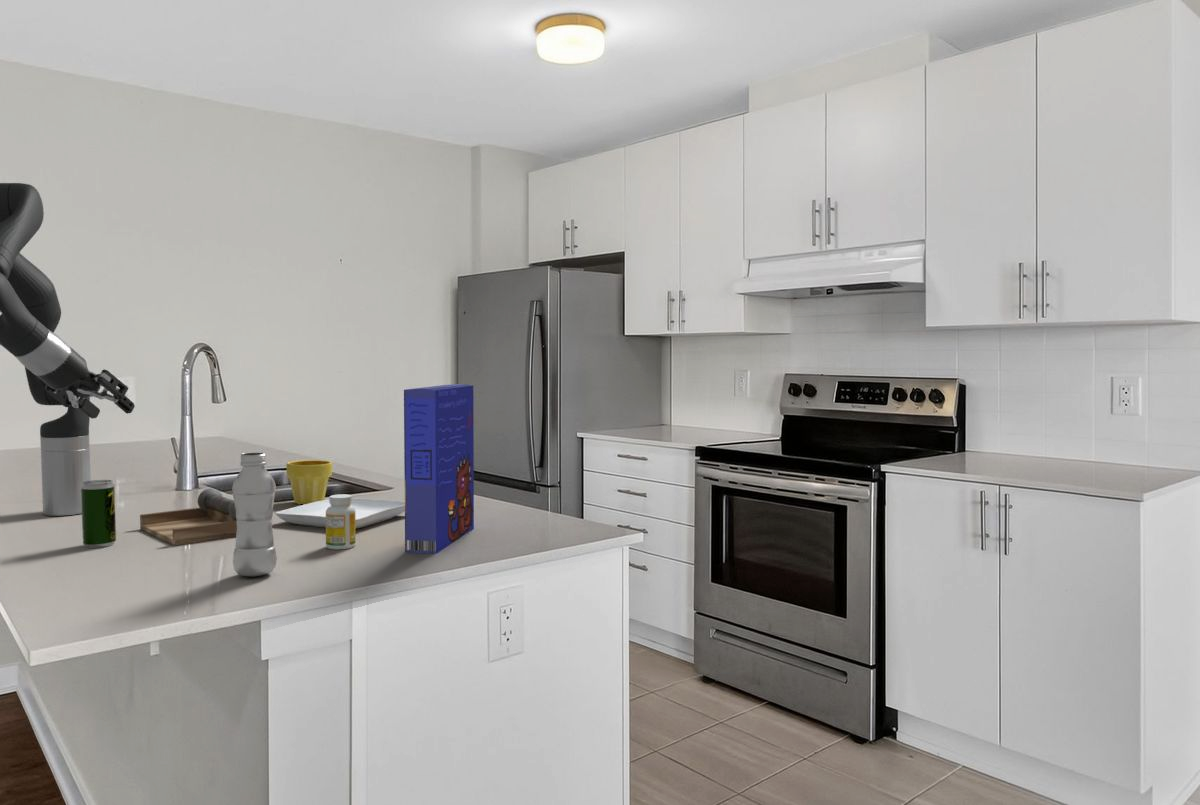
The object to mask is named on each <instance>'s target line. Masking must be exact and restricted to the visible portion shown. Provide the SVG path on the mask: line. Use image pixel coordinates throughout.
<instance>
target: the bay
mask: <svg viewBox="0 0 1200 805" xmlns="http://www.w3.org/2000/svg"><path fill="white" fill-rule="evenodd" d="M197 505H198V507H192V508H185V509H176V510H168V511H166V510H165V511H159V512H151V513H144V514H143V513H142V514H139V524H140V525H139V527H140V528H139V529H140V530H141V531H143V532H145V533H148V534H150V535H152V536H154V537H156V538H158V539H160V540H162V541H165V542H166V543H168V544H171V545H173V546H181V545H188V544H195V543H202V542H207V541H208V542H209V541H217V540H221V539H222V540H223V539H227V538H228V539H229V538H236V532H237V523H236V522H237V519H236V509H235V503H234V499H231V498H228V497H224V496H223V494H222V493H221V491H219V490H218V489H215V488H211V487H210V488H207V489H203V491H201V492H200V493H199V495H198V496H197Z"/></svg>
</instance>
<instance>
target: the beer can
mask: <svg viewBox="0 0 1200 805" xmlns="http://www.w3.org/2000/svg"><path fill="white" fill-rule="evenodd" d="M113 482H114V481H113V479H92V480H91V481H86V482H83V483H82V484H83V486H82V488H81V502H82V513H81V522H82V523H81V529H82V544H83V546H84V547H85V548H87V549H100V548H101V549H102V548H107V547H112V546H114V545H115V543H116V541H117V527H116V526H117V525H116V523H117V522H116V498H115V497H116V496H115V494H116V491H115V490H116V488H115V484H114V483H113ZM113 544H114V545H113ZM111 545H112V546H111Z"/></svg>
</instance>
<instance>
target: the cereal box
mask: <svg viewBox="0 0 1200 805" xmlns="http://www.w3.org/2000/svg"><path fill="white" fill-rule="evenodd" d="M474 422H475V421H474V385H471V384H466V383H458V384H457V383H454V384H442V385H434V386H433V385H432V386H426V387H423V386H422V387H416V388H415V387H414V388H408V389H403V429H404V431H403V441H404V442H403V449H404V450H403V451H404V452H403V453H404V456H403V457H404V462H403V463H404V501H405V512H404V552H405V553H415V554H416V553H419V554H433V555H434V554H439V552H441V551H442V550H444V549H445V548H447V547H449V546H450V545H452V544H453V543H455V542H456V541H458V540H459V539H460V538H463V537H464V536H465V535H467V534H468V533H470V532H472V531H473V530H474V529H475V524H474V523H475V522H474V521H475V513H474V510H475V508H474V507H475V506H474V505H475V503H474V502H475V500H474V499H475V498H474V494H475V493H474V492H475V488H474V484H475V483H474V482H475V481H474V480H475V479H474V477H475V475H474V474H475V472H474V471H475V470H474V469H475V466H474V461H475V460H474V456H475V455H474V453H475V452H474V441H475V440H474V436H475V435H474Z"/></svg>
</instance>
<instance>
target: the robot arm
mask: <svg viewBox="0 0 1200 805" xmlns="http://www.w3.org/2000/svg"><path fill="white" fill-rule="evenodd" d="M44 215H45V213H44V203H43V200H42V197H41V194H40V193H39V191H38V189H37V188H36V187H35V186H33V185H32V184H28V183H23V182H19V183H18V182H0V313H1V314H0V346H2V348H4V349H5V350H6V351H8V352H9V353H10V354H11V355H13V356H14V357H15V358H16V359H17V360H18V361H19V363H21V364H22V365H23V366H24V371H25V375H26V378H27V379H26V380H27V384H28V389H29V392H30V394H31V397H32V398H33V400H34V402H36V404H38V405H40V406H63V407H65V408H67V411H66V412H65V413H64V414H63V415H61V416H60V417H58V418H56V419H53V420H50V421H46V422H43V423H42V424H40V427H39V432H40V434H39V435H40V436H39V437H40V438H39V441H40V460H41V461H40V462H41V463H40V464H41V487H42V488H41V490H42V514H43V515H44V516H52V517H53V516H59V517H60V516H71V515H72V516H73V515H78V514H79V515H81V514H82V502H81V488H82V486H83V484H82V483H83V482H86V481H92V480H91V477H92V476H91V453H90V452H91V451H90V450H91V449H90V419H97V418H98V416H99V415H100V412H101V410H100V408H99V407H98V406H97V405H95V404H94V403H93V402H91V401H90V399H91V398H92V397H93V398H97V399H99V400H108V401H110V402H113V403H114V404H115V405H116V407H118V408H120V410H122V411H123V412H124V413H125V414H131V413H132V412H133V410H134V409H135V403H134V402H133V401H132V400H131V399H129V398H128V396H126V394H127V392H128V391H129V387H128V386H127V385H126V384H125V383H123V382H122V381H121V380H120V379H119V378H117V377H116V376H115V375H114V374H112V373H111V372H110V371H109V370H107V369H102V370H101V371H100V373H95V372H92V371H91V370H90V369H88V364H87V361H86V359H85V358H84V357H82V356H81V355H80V354H79V353H78V352H77V351H76V350H74V348H72V346H70V345H69V344H68V343H67V342H66V341H64V340H63V339H62V338H61V337H60V336H59V335H57V334H56V333H54V332H55V331H56V329H57V327H58V325H59V324H60V320H61V317H62V309H61V308H62V307H61V305H60V304H61V303H60V301H59V298H58V294H57V291H56V288H55V286H54V283H53V282H52V280H51V279H50V278H49V277H48V276H47V275H46V274H45V273H44V272H43V271H42V270H40V269H39V268H38V267H37V266H36V265H35V264H34V263H33V262H31V261H30V260H28V258H26V257H25V256H24V255H23V254H22V253H21V251H22V250H23V249H24V248H25V247H26V245H27V244H28V243H29V242H30V241H31V240H32V238H33V237H34V236H35V235H36V234H37V232H38V231H39V230H40V228H41V226H42V225H43V222H44ZM101 387H103V389H102V391H100V389H101ZM99 391H100V392H99ZM108 392H109V393H108Z"/></svg>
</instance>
